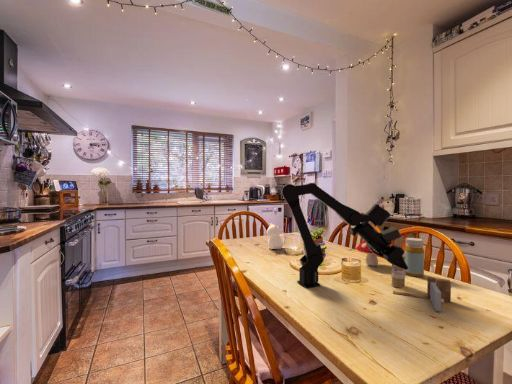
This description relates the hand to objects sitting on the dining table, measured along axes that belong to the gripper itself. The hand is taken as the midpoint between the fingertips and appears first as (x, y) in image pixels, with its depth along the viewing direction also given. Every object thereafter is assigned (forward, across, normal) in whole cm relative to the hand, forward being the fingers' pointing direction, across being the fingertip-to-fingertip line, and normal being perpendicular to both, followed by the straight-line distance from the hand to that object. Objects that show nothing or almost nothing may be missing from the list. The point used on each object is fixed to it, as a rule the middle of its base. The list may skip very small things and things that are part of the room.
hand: (400, 264), depth 95 cm
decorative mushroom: (+5, +24, +6) cm, 26 cm away
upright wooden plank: (+7, -9, +4) cm, 12 cm away
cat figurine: (-26, +54, +37) cm, 71 cm away
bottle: (+14, +13, -3) cm, 20 cm away
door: (+7, -16, +3) cm, 18 cm away
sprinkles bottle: (+5, 0, +6) cm, 8 cm away
